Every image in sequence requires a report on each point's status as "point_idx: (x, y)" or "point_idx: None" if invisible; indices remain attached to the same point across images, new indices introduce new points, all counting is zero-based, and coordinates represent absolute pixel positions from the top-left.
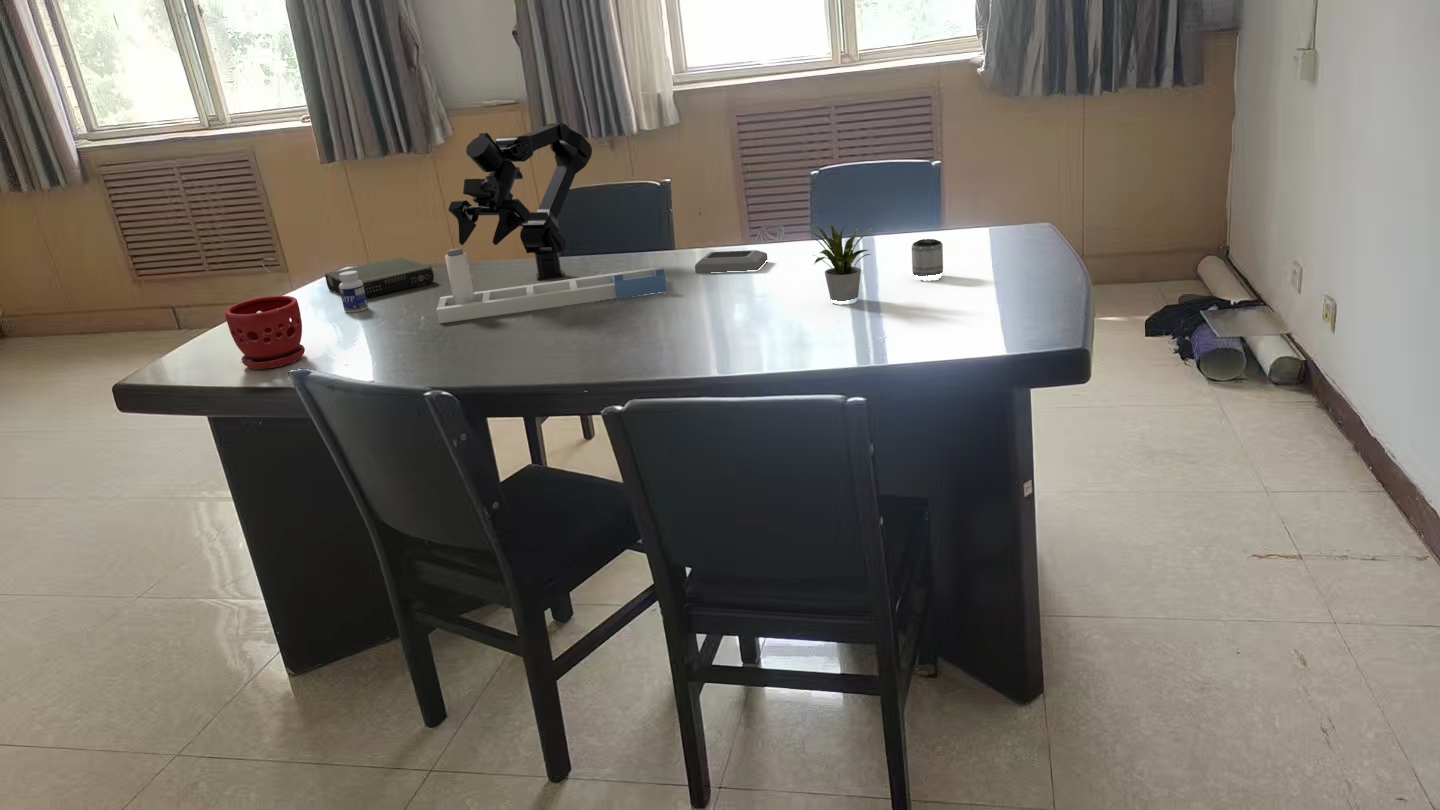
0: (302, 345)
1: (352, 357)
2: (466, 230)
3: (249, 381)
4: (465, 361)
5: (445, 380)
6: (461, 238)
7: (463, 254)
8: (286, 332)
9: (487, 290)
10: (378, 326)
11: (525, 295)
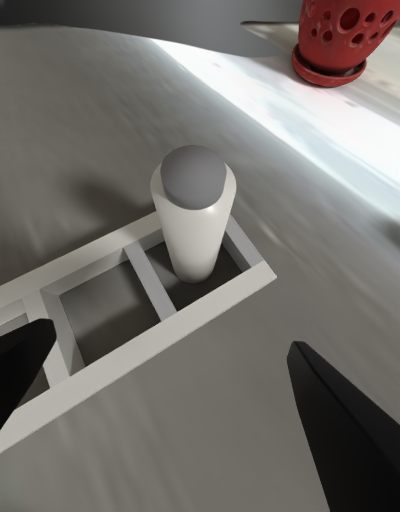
0: (315, 73)
1: (231, 82)
2: (356, 490)
3: (290, 33)
4: (64, 74)
5: (62, 37)
6: (304, 359)
7: (154, 182)
8: (302, 6)
9: (179, 338)
10: (316, 187)
11: (41, 286)
